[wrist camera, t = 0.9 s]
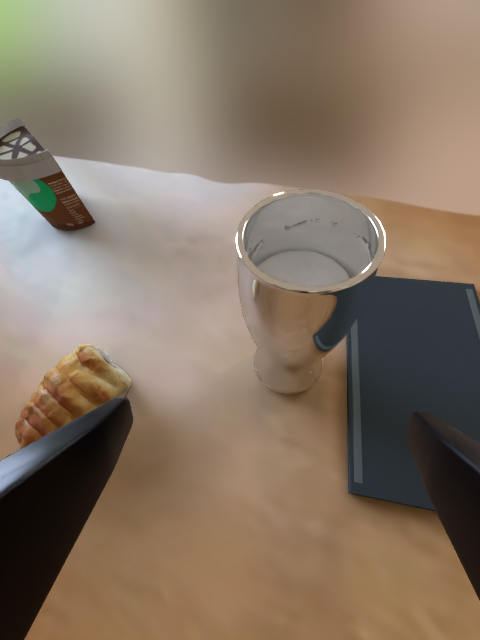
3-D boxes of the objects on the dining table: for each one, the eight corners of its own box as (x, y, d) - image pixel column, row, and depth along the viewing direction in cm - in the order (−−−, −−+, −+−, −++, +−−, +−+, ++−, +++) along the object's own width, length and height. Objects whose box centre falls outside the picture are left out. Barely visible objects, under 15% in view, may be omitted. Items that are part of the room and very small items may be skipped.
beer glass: (241, 390, 24) (212, 284, 11) (257, 323, 27) (249, 181, 15) (323, 407, 23) (396, 308, 10) (329, 334, 26) (389, 190, 13)
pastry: (56, 476, 22) (18, 475, 18) (14, 424, 24) (-25, 415, 21) (141, 382, 25) (122, 367, 22) (97, 345, 28) (74, 326, 24)
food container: (29, 208, 41) (-34, 135, 32) (68, 189, 43) (17, 115, 34) (57, 250, 36) (-10, 177, 27) (99, 227, 37) (49, 151, 29)
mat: (543, 533, 18) (551, 535, 17) (348, 492, 20) (350, 492, 19) (470, 287, 27) (474, 283, 27) (345, 276, 29) (347, 273, 29)
